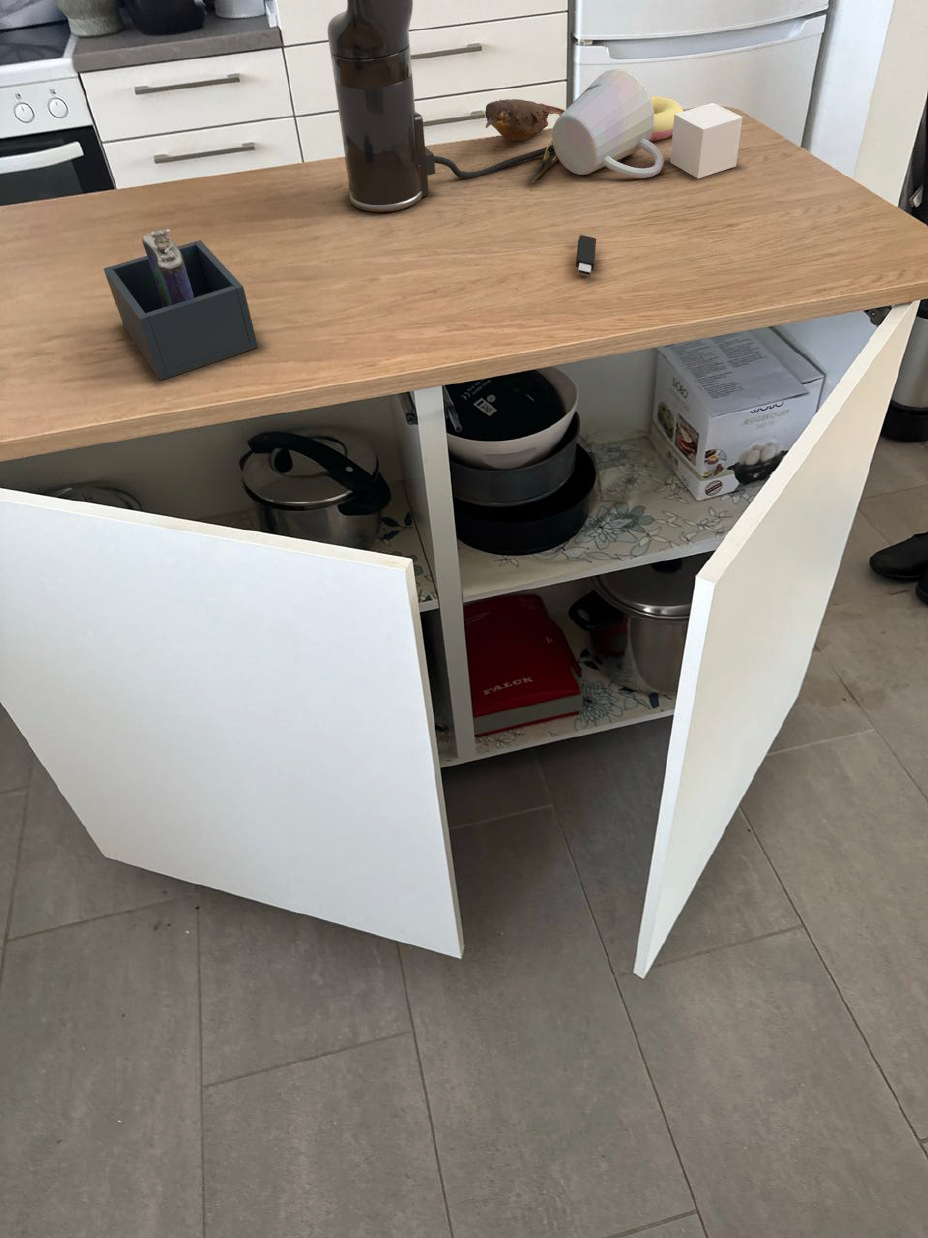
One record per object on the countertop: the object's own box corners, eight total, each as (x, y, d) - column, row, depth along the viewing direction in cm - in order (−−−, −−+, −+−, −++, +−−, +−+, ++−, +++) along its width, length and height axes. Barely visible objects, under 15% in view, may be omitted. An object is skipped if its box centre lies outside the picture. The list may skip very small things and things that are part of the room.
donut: (689, 141, 133) (634, 118, 137) (700, 106, 130) (643, 84, 133) (654, 154, 127) (598, 130, 130) (665, 117, 124) (606, 94, 127)
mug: (534, 151, 125) (584, 116, 129) (614, 225, 124) (662, 188, 127) (554, 85, 115) (607, 49, 119) (641, 165, 114) (692, 126, 117)
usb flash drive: (576, 266, 103) (574, 275, 104) (594, 270, 103) (591, 279, 104) (579, 233, 108) (577, 242, 109) (596, 237, 108) (594, 246, 109)
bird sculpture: (579, 138, 141) (585, 100, 138) (504, 149, 122) (509, 105, 119) (539, 130, 143) (544, 93, 140) (459, 140, 124) (464, 97, 122)
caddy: (216, 298, 105) (200, 239, 100) (258, 347, 98) (243, 286, 93) (124, 327, 102) (103, 268, 97) (160, 380, 94) (139, 319, 89)
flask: (163, 315, 102) (133, 216, 94) (189, 307, 103) (161, 209, 95) (187, 354, 96) (156, 252, 88) (214, 346, 97) (187, 244, 89)
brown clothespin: (538, 186, 121) (537, 175, 120) (519, 186, 122) (518, 175, 121) (570, 149, 128) (569, 138, 127) (551, 149, 129) (551, 138, 128)
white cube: (674, 113, 119) (669, 162, 123) (703, 128, 115) (697, 178, 120) (713, 102, 121) (707, 150, 125) (743, 116, 117) (736, 166, 121)
